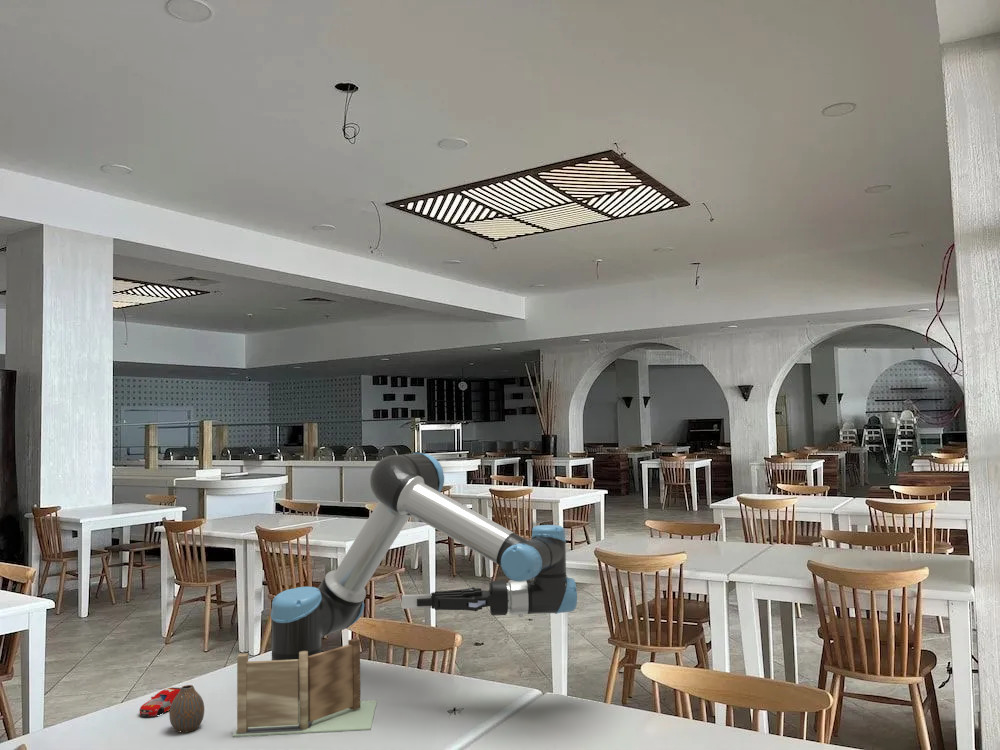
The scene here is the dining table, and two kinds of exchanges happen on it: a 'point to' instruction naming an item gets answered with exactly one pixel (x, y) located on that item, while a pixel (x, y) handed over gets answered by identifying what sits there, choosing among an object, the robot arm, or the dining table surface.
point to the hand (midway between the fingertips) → (401, 601)
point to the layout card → (324, 723)
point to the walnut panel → (334, 680)
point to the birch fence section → (272, 692)
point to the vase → (186, 709)
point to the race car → (159, 702)
